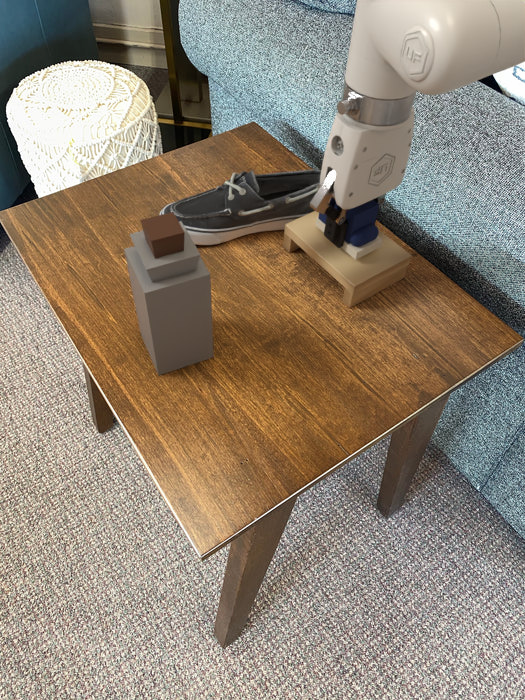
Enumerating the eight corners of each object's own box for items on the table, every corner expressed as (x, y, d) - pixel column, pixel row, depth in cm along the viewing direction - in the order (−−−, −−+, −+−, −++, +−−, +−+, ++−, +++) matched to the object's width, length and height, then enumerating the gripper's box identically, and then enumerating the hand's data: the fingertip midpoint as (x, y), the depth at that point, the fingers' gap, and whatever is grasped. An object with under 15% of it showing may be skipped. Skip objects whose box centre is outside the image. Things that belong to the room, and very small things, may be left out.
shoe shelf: (404, 277, 76) (412, 255, 73) (349, 308, 72) (354, 286, 69) (336, 221, 83) (340, 199, 80) (282, 246, 79) (285, 224, 76)
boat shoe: (162, 251, 77) (156, 202, 71) (157, 211, 83) (151, 161, 76) (333, 235, 81) (342, 187, 75) (318, 198, 86) (325, 149, 80)
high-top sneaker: (315, 225, 75) (320, 190, 71) (340, 213, 77) (347, 178, 73) (355, 260, 71) (363, 224, 67) (381, 246, 73) (390, 211, 69)
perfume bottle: (140, 333, 68) (117, 213, 54) (193, 317, 70) (183, 197, 56) (158, 375, 65) (138, 258, 51) (213, 357, 67) (208, 239, 52)
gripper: (340, 139, 54) (317, 276, 69) (458, 93, 61) (414, 226, 75) (292, 105, 58) (279, 241, 72) (408, 64, 65) (375, 197, 79)
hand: (348, 232), depth 74 cm, fingers closed on high-top sneaker, 4 cm apart
